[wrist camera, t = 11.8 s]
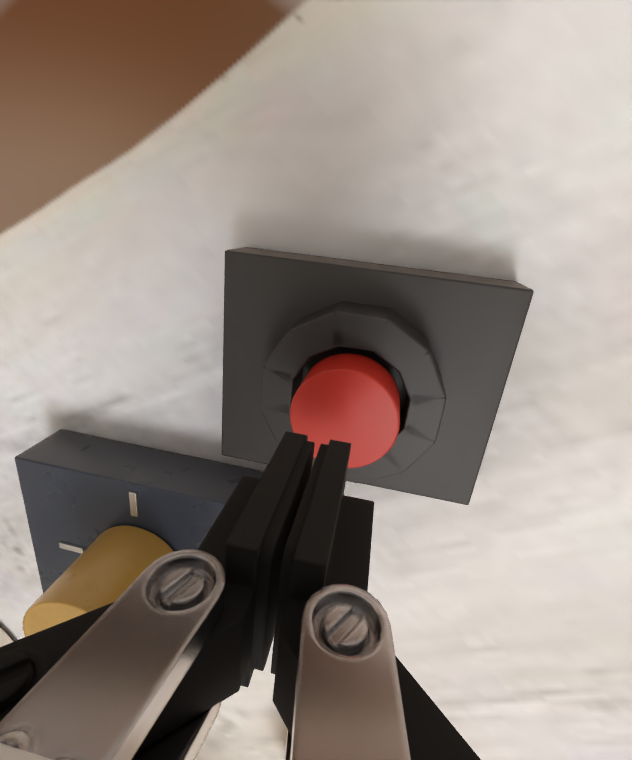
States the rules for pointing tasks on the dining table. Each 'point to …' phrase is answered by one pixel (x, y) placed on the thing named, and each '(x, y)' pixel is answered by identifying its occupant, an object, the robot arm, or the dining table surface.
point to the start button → (348, 407)
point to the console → (116, 495)
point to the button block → (379, 342)
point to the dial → (96, 576)
